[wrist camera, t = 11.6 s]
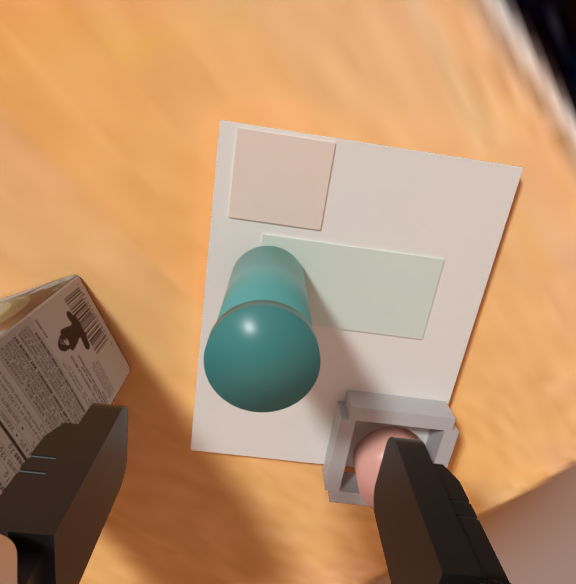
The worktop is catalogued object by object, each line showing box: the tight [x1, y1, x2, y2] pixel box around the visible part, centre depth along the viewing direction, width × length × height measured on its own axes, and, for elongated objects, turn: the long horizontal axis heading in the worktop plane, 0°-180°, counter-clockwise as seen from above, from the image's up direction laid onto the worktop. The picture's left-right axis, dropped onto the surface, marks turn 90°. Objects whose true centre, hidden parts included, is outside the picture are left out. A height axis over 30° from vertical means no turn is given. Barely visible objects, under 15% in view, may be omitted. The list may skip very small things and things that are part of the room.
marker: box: [204, 246, 321, 412], centre depth 19 cm, size 4×4×8 cm
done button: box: [353, 427, 420, 509], centre depth 25 cm, size 4×4×2 cm
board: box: [191, 120, 523, 506], centre depth 24 cm, size 14×19×2 cm
